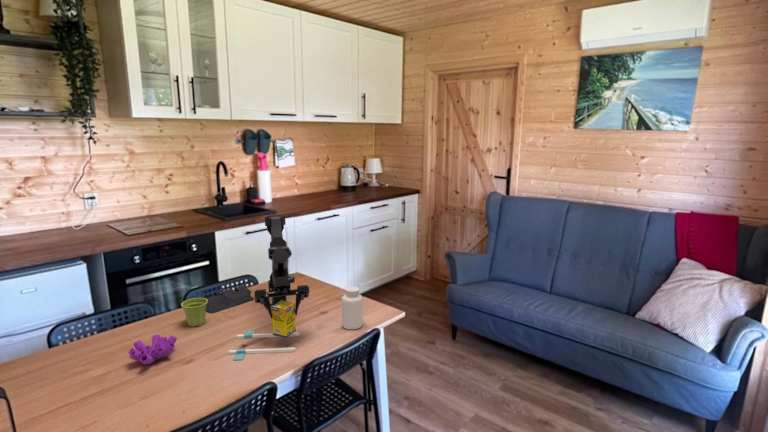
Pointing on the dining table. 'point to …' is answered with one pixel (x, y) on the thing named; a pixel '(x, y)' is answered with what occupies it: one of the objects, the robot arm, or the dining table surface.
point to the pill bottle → (352, 308)
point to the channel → (250, 334)
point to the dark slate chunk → (229, 299)
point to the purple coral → (152, 349)
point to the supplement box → (283, 318)
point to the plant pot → (195, 311)
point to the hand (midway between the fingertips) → (284, 316)
